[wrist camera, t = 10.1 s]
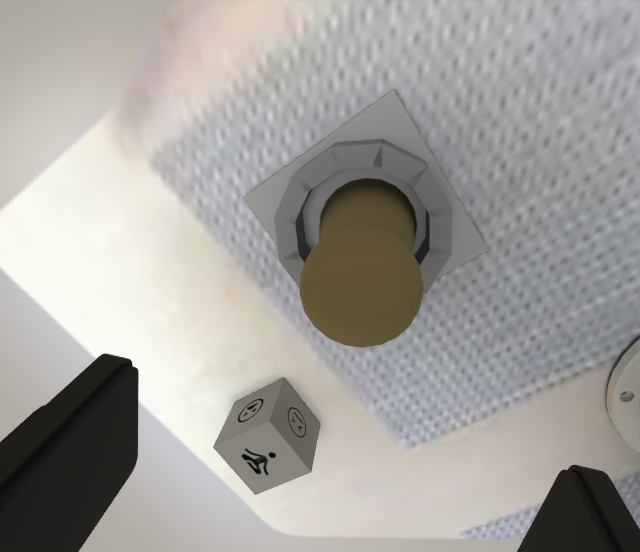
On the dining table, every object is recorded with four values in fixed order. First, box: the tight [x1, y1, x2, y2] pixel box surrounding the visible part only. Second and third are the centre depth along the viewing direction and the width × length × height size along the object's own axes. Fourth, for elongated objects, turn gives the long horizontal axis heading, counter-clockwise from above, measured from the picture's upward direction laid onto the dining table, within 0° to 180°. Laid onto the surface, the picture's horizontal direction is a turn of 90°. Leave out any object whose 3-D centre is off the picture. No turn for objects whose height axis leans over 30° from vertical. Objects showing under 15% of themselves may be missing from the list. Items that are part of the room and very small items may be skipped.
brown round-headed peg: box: [300, 178, 424, 347], centre depth 22 cm, size 6×6×11 cm
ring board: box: [242, 89, 489, 294], centre depth 26 cm, size 11×11×4 cm
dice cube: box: [213, 377, 320, 495], centre depth 33 cm, size 5×5×5 cm
